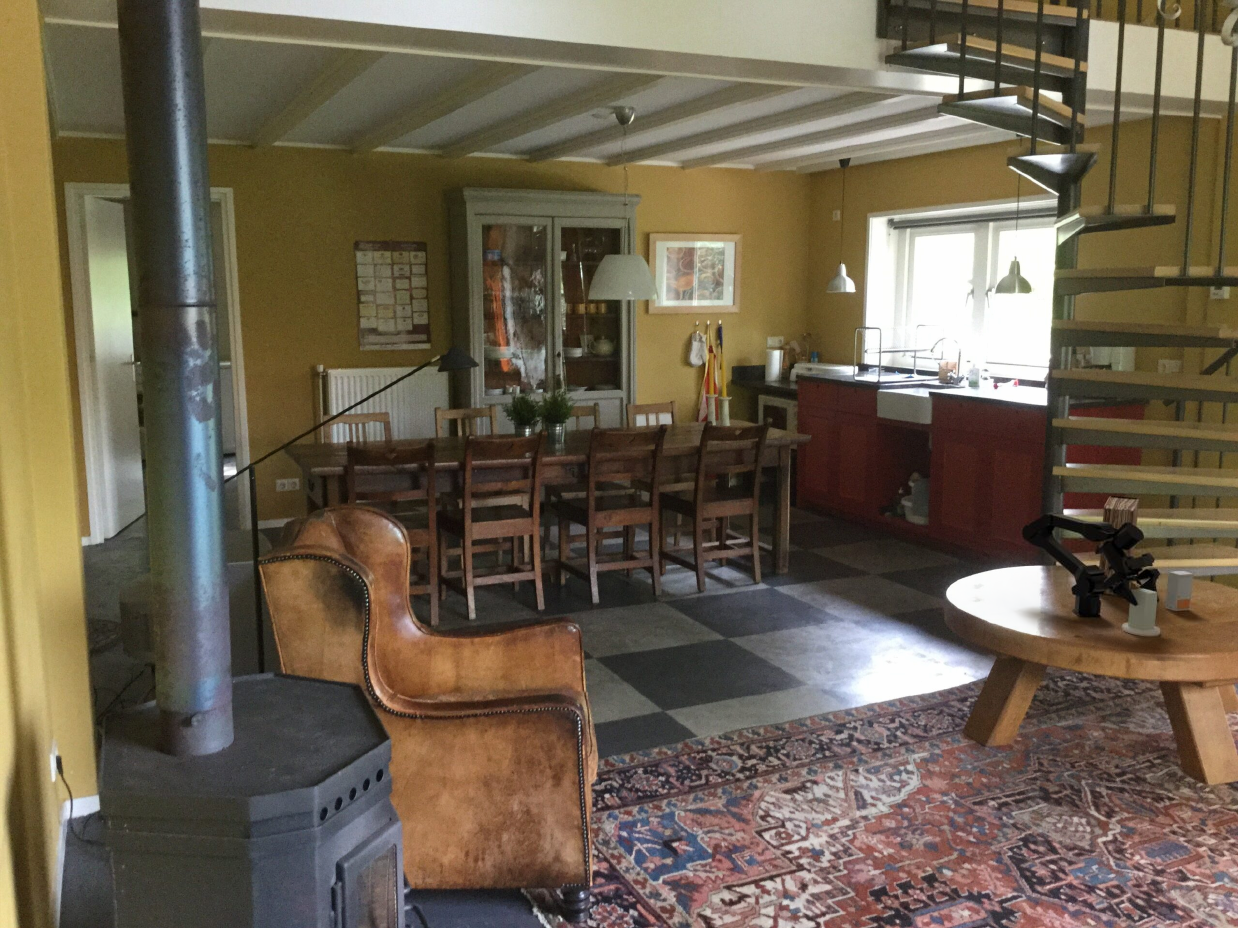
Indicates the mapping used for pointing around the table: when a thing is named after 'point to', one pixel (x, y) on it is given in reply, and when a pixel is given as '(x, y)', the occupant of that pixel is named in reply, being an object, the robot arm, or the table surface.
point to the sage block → (1143, 610)
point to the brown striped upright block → (1118, 524)
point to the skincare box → (1179, 590)
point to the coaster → (1141, 633)
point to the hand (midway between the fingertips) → (1147, 603)
